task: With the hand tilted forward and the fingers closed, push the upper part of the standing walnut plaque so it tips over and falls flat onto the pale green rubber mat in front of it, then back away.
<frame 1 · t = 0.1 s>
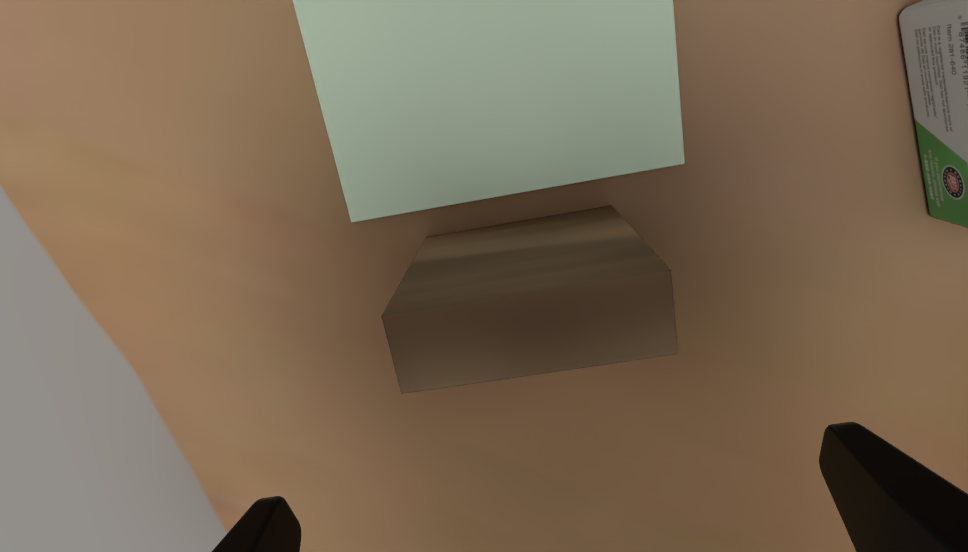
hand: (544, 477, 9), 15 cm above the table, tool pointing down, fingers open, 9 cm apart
green mat: (482, 12, 21), on the table
walnut plaque: (522, 249, 24), on the table
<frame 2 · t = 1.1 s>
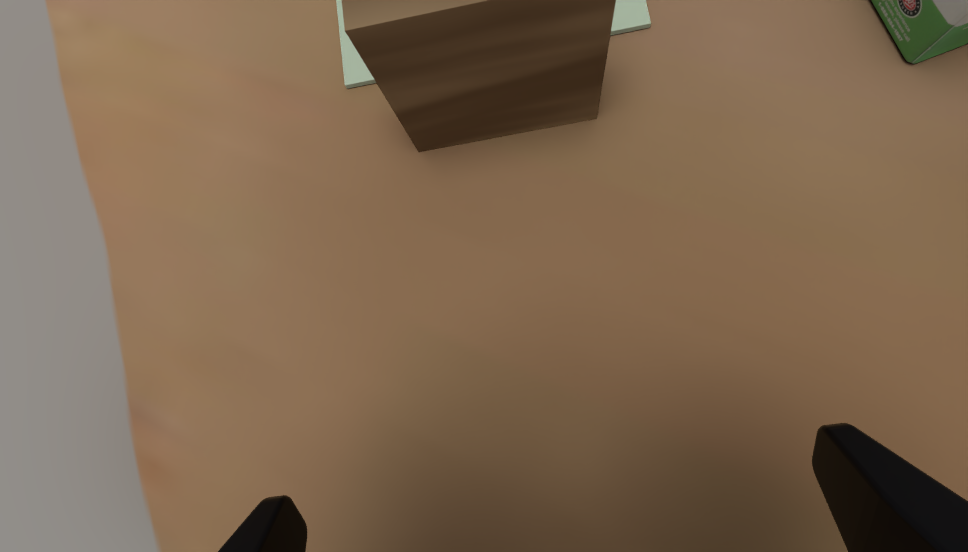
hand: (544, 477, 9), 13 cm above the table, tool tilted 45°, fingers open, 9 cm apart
walnut plaque: (502, 110, 25), on the table
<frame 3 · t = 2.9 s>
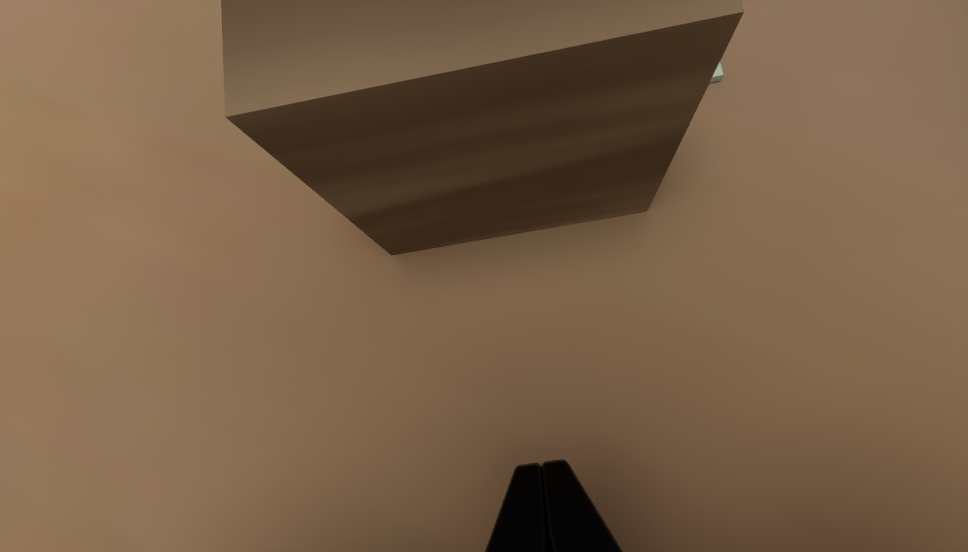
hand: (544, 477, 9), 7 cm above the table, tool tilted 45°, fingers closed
walnut plaque: (510, 196, 17), on the table
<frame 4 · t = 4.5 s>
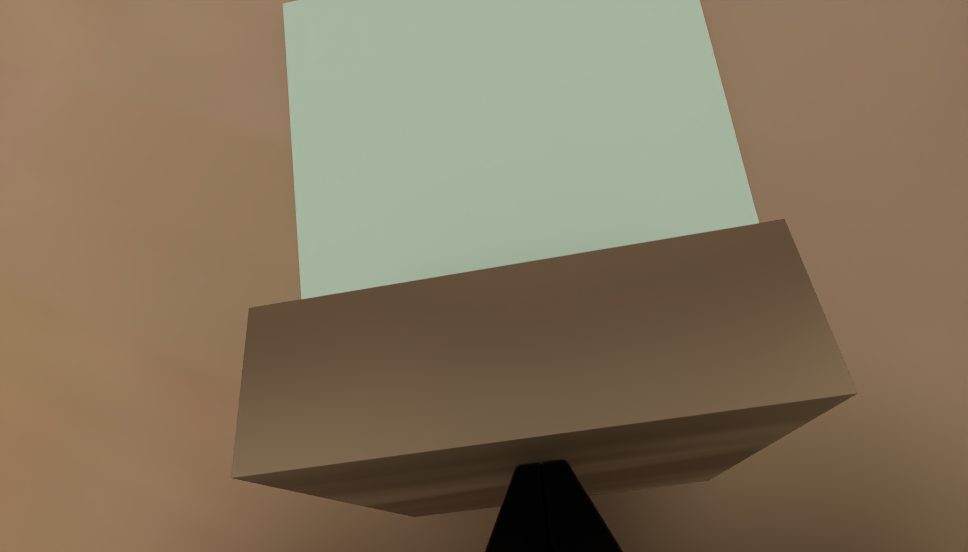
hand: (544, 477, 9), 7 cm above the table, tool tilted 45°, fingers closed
green mat: (502, 148, 18), on the table
walnut plaque: (550, 451, 16), on the table, tilted 14°
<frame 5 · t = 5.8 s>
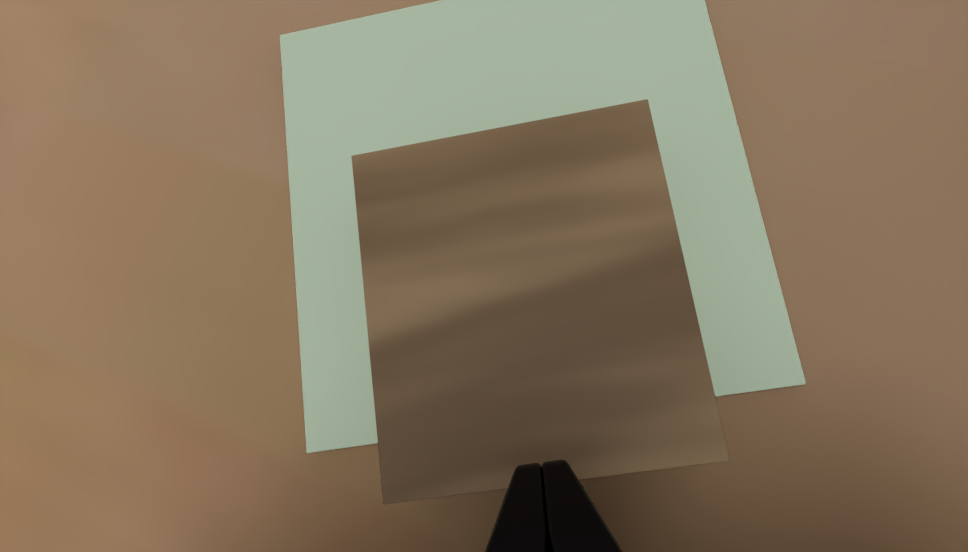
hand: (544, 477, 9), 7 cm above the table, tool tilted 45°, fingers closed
green mat: (509, 190, 17), on the table
walnut plaque: (551, 475, 14), point 2 cm above the table, tilted 90°, touching green mat
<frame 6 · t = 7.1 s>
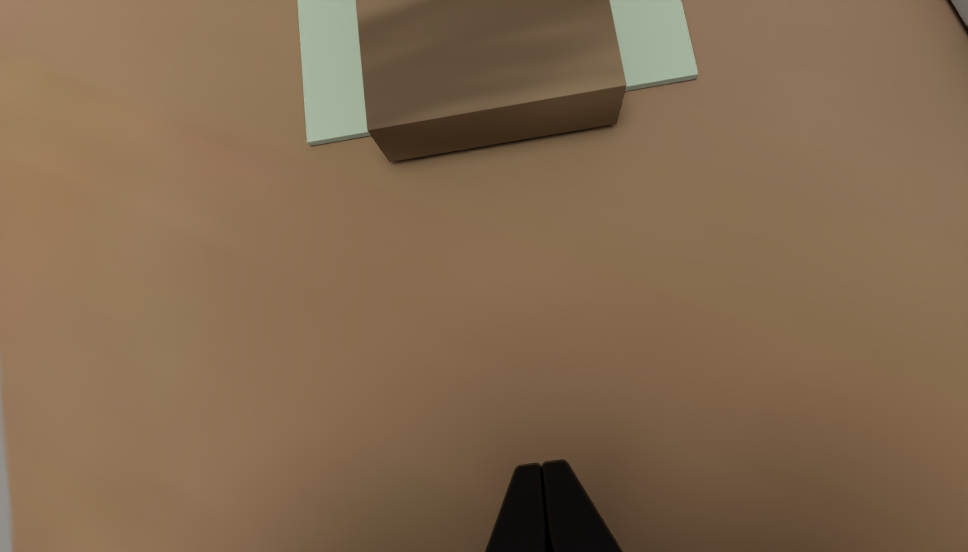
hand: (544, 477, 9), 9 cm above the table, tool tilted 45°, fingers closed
walnut plaque: (497, 126, 18), point 2 cm above the table, tilted 90°, touching green mat
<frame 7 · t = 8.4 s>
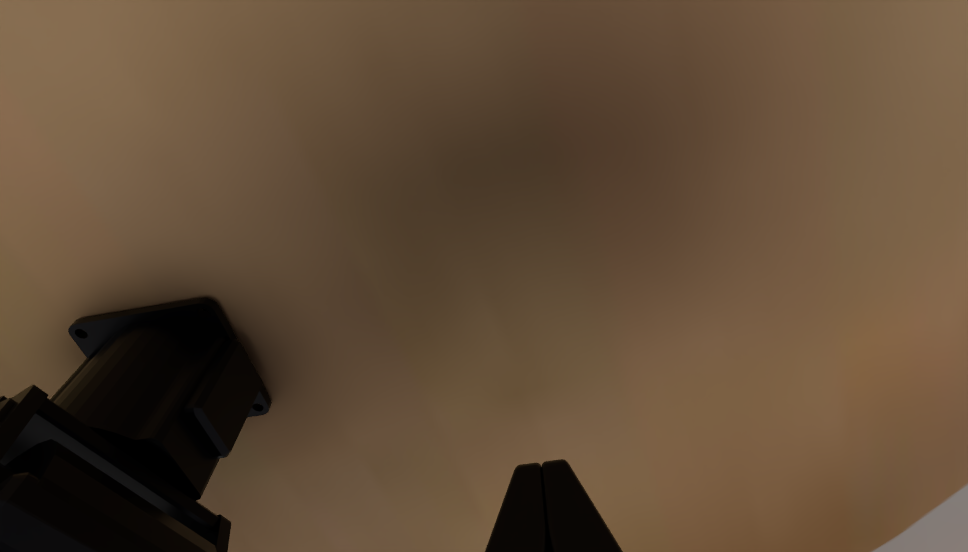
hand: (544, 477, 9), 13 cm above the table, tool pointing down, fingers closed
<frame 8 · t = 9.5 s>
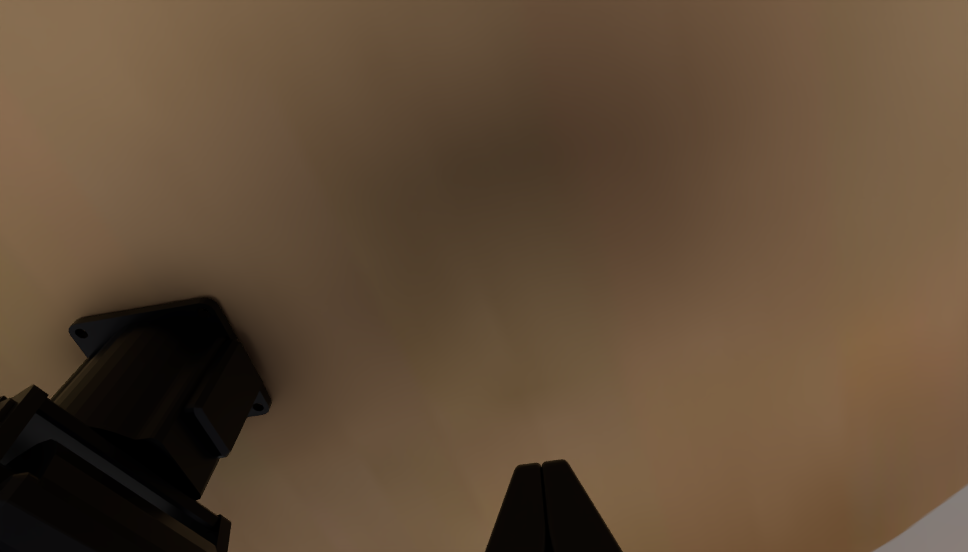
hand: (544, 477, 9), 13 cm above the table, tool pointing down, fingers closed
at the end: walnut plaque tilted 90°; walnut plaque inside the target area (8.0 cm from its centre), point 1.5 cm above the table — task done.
